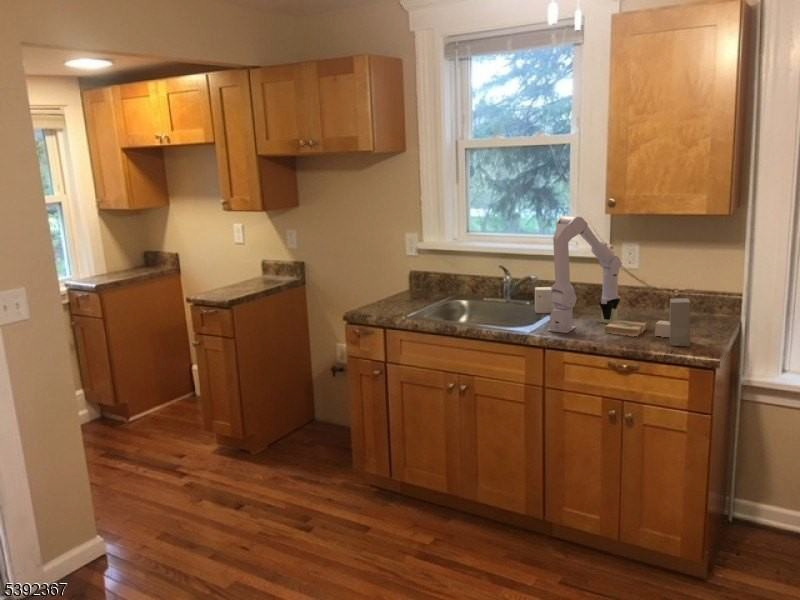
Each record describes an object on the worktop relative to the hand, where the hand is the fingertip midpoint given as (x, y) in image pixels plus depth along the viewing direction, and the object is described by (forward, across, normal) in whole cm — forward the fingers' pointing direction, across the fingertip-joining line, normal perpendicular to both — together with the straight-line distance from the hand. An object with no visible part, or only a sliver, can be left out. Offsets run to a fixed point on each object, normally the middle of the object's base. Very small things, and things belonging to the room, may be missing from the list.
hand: (609, 317), depth 262 cm
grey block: (+2, -11, -24) cm, 26 cm away
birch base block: (+2, -11, -10) cm, 15 cm away
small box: (+2, +5, +30) cm, 30 cm away
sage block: (+2, 0, 0) cm, 2 cm away
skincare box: (+2, -19, -31) cm, 36 cm away
